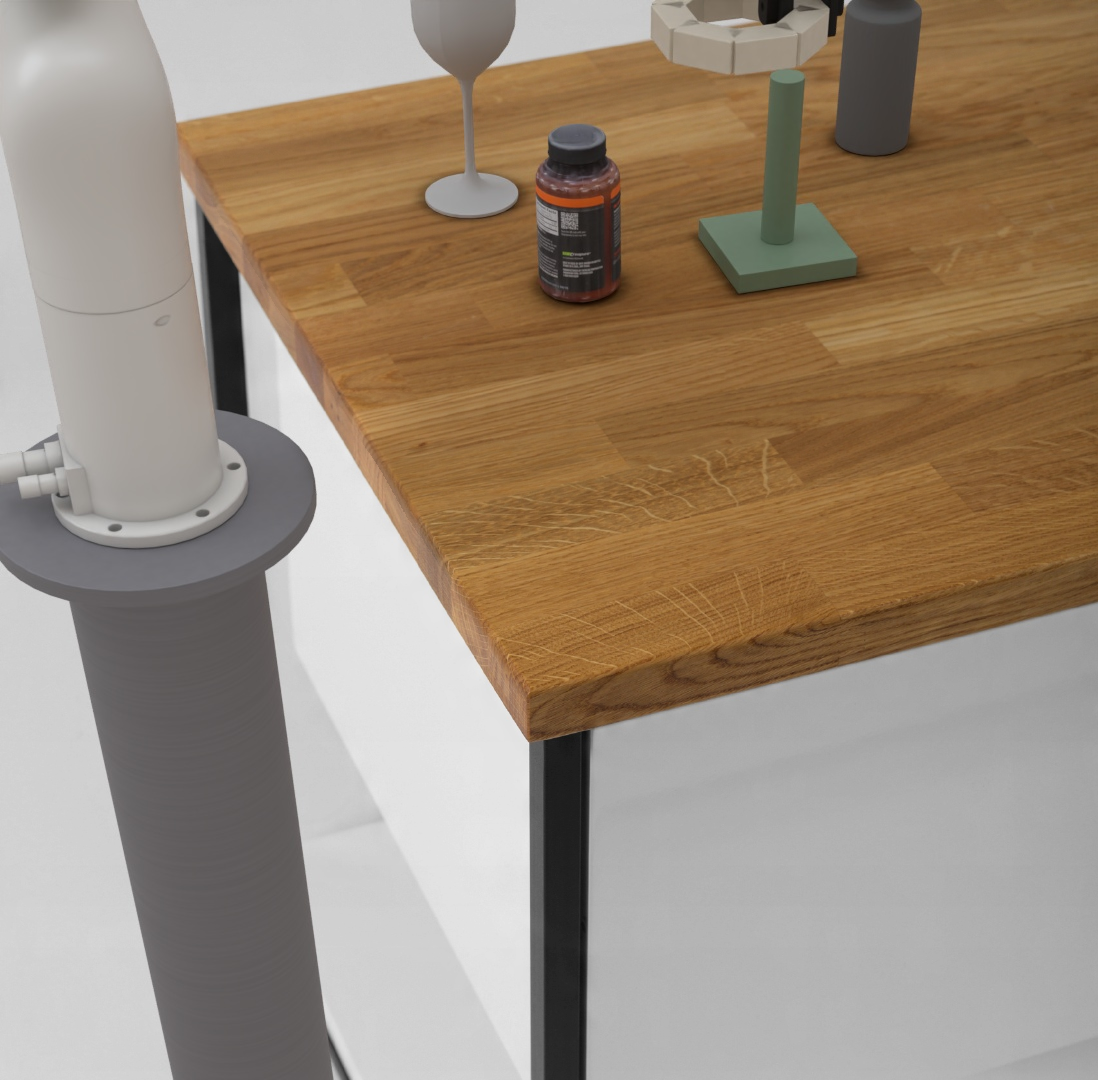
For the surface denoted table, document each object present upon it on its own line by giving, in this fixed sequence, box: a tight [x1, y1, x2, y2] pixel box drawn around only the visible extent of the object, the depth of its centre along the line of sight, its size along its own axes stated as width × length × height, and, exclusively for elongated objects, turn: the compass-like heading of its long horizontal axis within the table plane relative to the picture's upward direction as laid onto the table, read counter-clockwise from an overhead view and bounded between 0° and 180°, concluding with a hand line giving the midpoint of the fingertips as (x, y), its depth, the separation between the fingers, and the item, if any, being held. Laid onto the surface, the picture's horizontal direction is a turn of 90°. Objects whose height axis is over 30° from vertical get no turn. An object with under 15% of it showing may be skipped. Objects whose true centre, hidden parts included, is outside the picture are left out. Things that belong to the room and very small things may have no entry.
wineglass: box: [410, 0, 519, 219], centre depth 150 cm, size 8×8×21 cm
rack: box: [697, 68, 858, 294], centre depth 145 cm, size 9×9×14 cm
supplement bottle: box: [535, 123, 622, 303], centre depth 143 cm, size 6×6×11 cm
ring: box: [650, 0, 829, 76], centre depth 123 cm, size 10×10×2 cm
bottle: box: [834, 0, 923, 156], centre depth 159 cm, size 6×6×15 cm
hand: (799, 29), depth 124 cm, fingers closed on ring, 2 cm apart
